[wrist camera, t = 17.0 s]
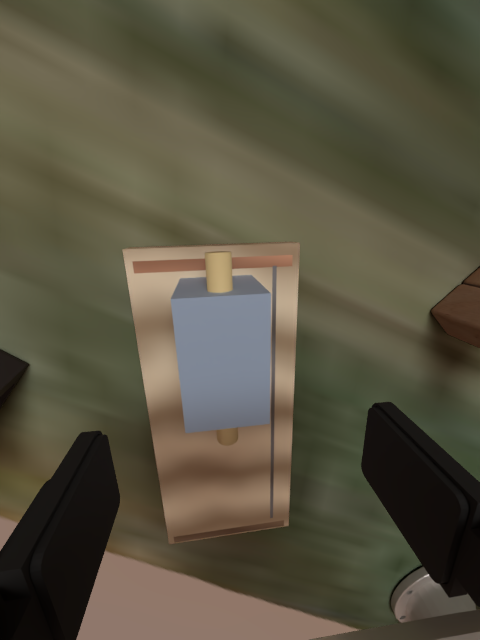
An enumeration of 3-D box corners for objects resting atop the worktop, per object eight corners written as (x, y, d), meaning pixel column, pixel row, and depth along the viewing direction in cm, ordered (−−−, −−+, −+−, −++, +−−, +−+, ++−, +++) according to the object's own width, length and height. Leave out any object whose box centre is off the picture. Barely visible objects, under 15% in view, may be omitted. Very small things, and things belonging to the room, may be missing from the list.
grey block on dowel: (253, 395, 23) (269, 450, 17) (192, 401, 22) (188, 460, 17) (250, 245, 19) (271, 252, 13) (177, 248, 18) (166, 257, 13)
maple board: (283, 507, 30) (288, 525, 28) (171, 523, 29) (169, 544, 27) (291, 241, 21) (300, 243, 19) (130, 247, 20) (122, 249, 18)
